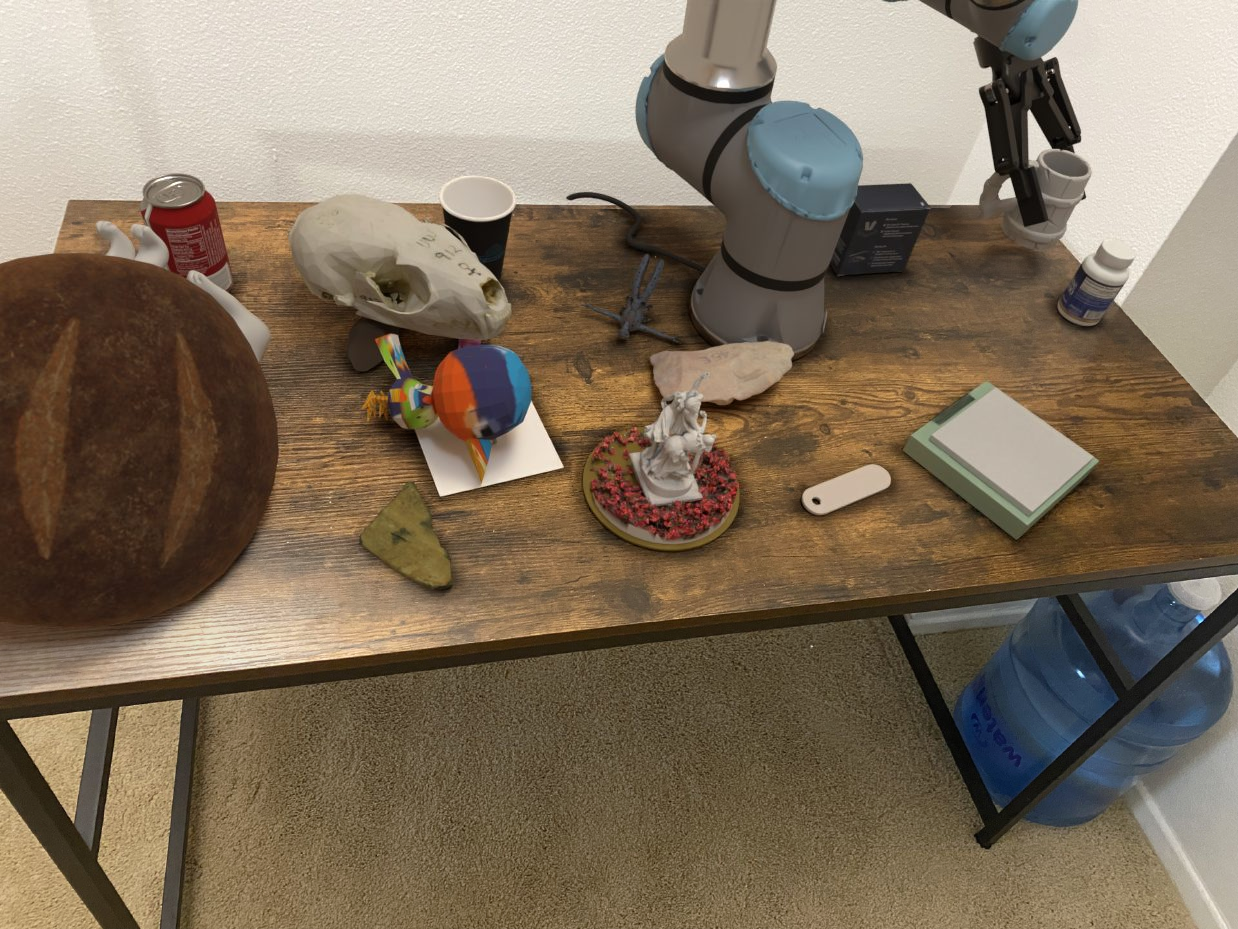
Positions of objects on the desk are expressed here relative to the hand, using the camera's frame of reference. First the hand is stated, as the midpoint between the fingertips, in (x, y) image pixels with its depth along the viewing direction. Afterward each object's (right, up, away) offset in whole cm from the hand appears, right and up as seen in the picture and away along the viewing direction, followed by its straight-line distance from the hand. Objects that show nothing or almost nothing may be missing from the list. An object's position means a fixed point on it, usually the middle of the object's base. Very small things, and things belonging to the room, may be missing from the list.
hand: (1055, 212), depth 112 cm
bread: (-93, -29, -42) cm, 106 cm away
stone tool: (-50, -21, -16) cm, 56 cm away
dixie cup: (-69, -10, -8) cm, 70 cm away
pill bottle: (+4, -12, +3) cm, 13 cm away
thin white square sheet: (-66, -28, -23) cm, 75 cm away
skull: (-75, -15, -19) cm, 78 cm away
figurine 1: (-76, -11, -14) cm, 78 cm away
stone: (-69, -37, -29) cm, 84 cm away
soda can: (-97, -12, -14) cm, 99 cm away
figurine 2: (-50, -12, -8) cm, 52 cm away
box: (-22, -5, +4) cm, 23 cm away
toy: (-76, -25, -25) cm, 84 cm away
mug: (-3, -1, +5) cm, 6 cm away
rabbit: (-90, -14, -32) cm, 96 cm away
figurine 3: (-49, -33, -24) cm, 63 cm away
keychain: (-31, -32, -21) cm, 49 cm away
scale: (-14, -30, -16) cm, 37 cm away
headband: (-66, -16, -15) cm, 69 cm away
